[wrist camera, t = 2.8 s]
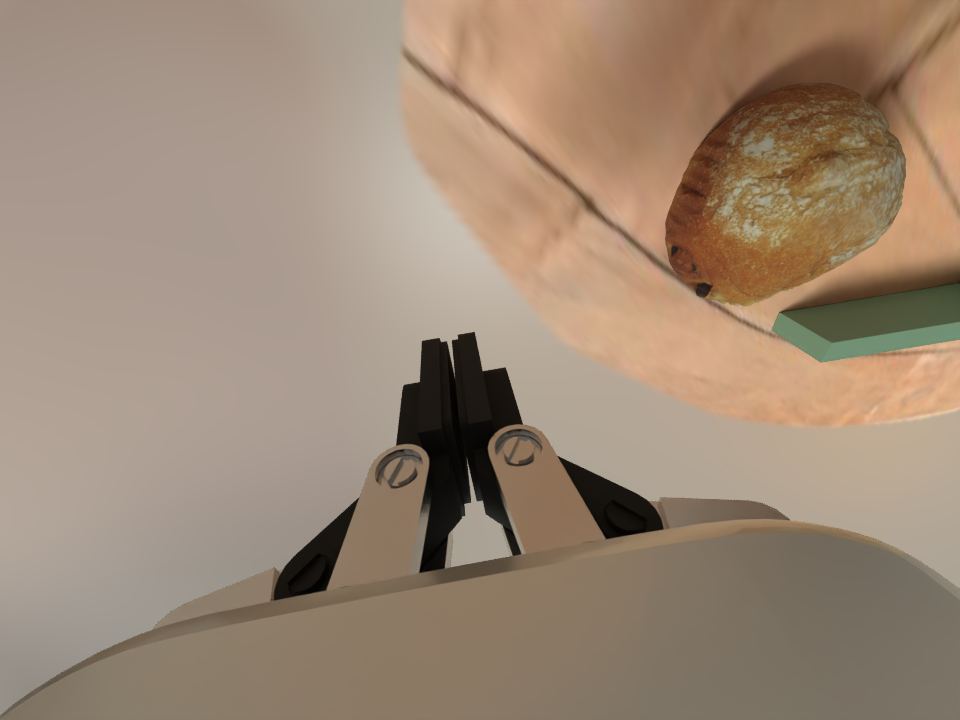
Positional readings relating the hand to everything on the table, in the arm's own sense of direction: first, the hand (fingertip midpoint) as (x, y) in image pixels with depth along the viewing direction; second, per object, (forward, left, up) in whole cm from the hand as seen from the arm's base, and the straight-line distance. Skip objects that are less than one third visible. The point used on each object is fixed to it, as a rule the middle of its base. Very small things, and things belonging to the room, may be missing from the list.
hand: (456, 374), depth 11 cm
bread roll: (0, +17, -11) cm, 21 cm away
